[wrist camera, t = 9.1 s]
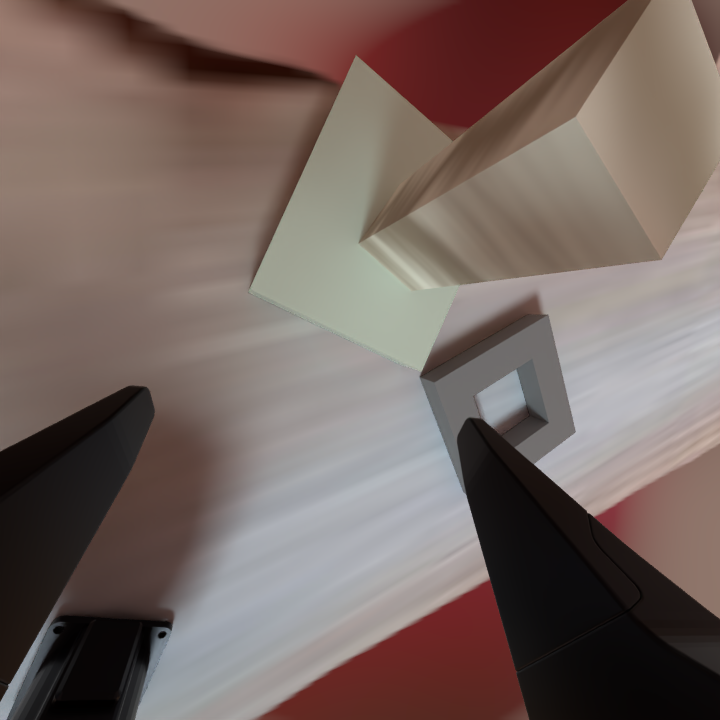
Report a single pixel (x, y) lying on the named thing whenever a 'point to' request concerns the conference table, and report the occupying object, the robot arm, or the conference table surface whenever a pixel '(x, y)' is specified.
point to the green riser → (356, 226)
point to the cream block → (568, 162)
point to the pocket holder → (491, 363)
